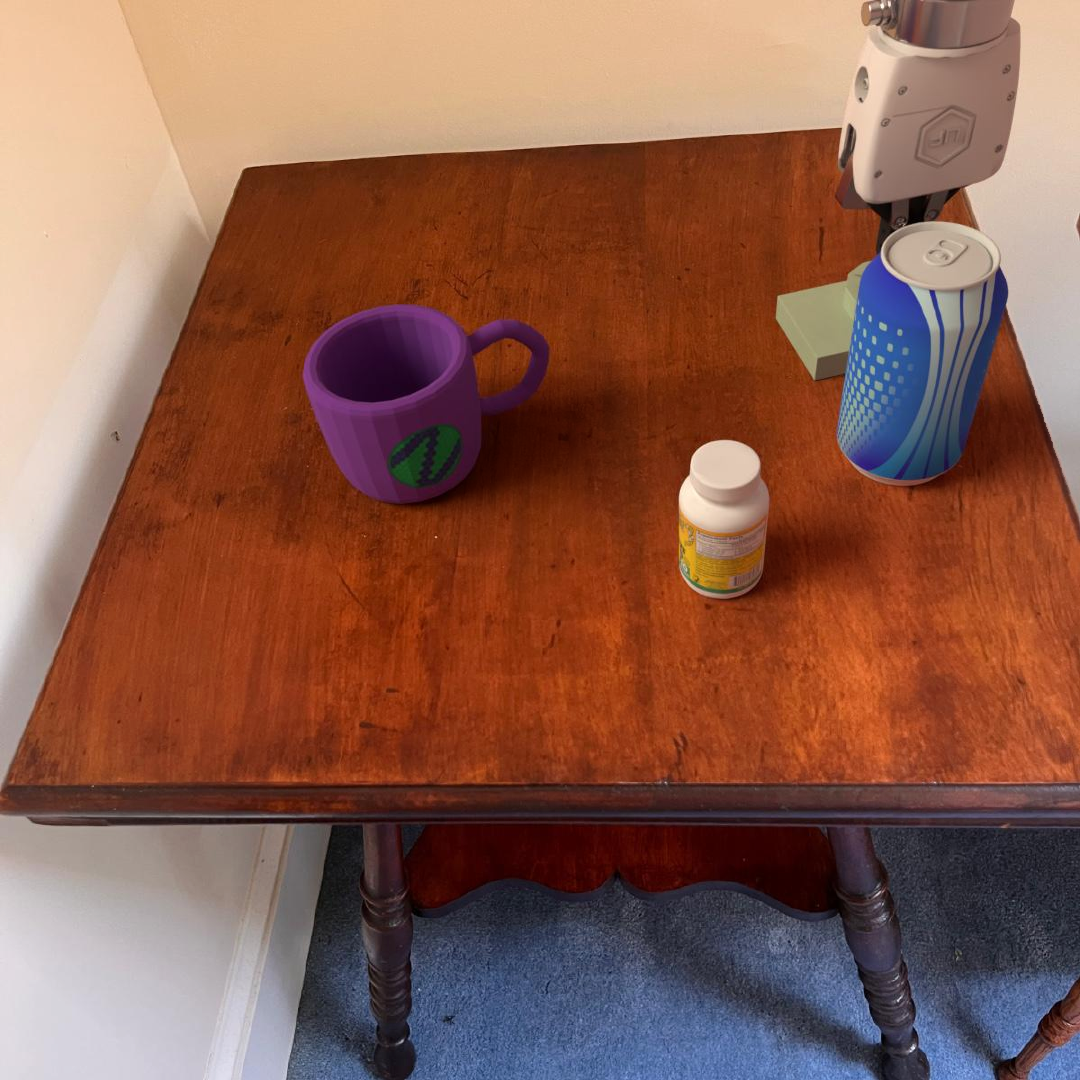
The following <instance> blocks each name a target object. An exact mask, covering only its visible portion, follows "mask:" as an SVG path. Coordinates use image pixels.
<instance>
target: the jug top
mask: <svg viewBox="0 0 1080 1080" xmlns="http://www.w3.org/2000/svg"><path fill="white" fill-rule="evenodd" d="M871 261H872V260H867V261H865V262H862V263H860V264H859V265H858V266H857V267H855V268H854V269H853V270H851V271H850V272H849V273H848V274H847V278H846V280H843V281H839V282H838V281H837V282H833V283H829V284H825V285H820V286H815V287H810V288H807V289H802V290H798V291H794V292H789V293H785V294H780V295H777V299H776V308H775V309H776V311H775V320H776V321H777V323H778V325H779V326H780V328H781V329H782V331H783V333H784V335H785V336H786V337H787V339H788V341H789V342H790V344H791V346H792V347H793V348H794V350H795V353H796V354H797V355H798V357H799V359H800V360H801V361H802V363H803V365H804V366H805V368H806V369H807V371H808V373H809V374H810V376H811V378H812V379H813V381H820V380H824V379H828V378H832V377H838V376H841V375H845V374H846V367H847V361H848V355H849V348H850V342H851V336H852V329H853V323H854V317H855V310H856V304H857V297H858V291H859V285H860V280H861V276H862V274H863V272H864V270H865V268H866V267H867V266H868V264H869V263H870V262H871Z"/></svg>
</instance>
